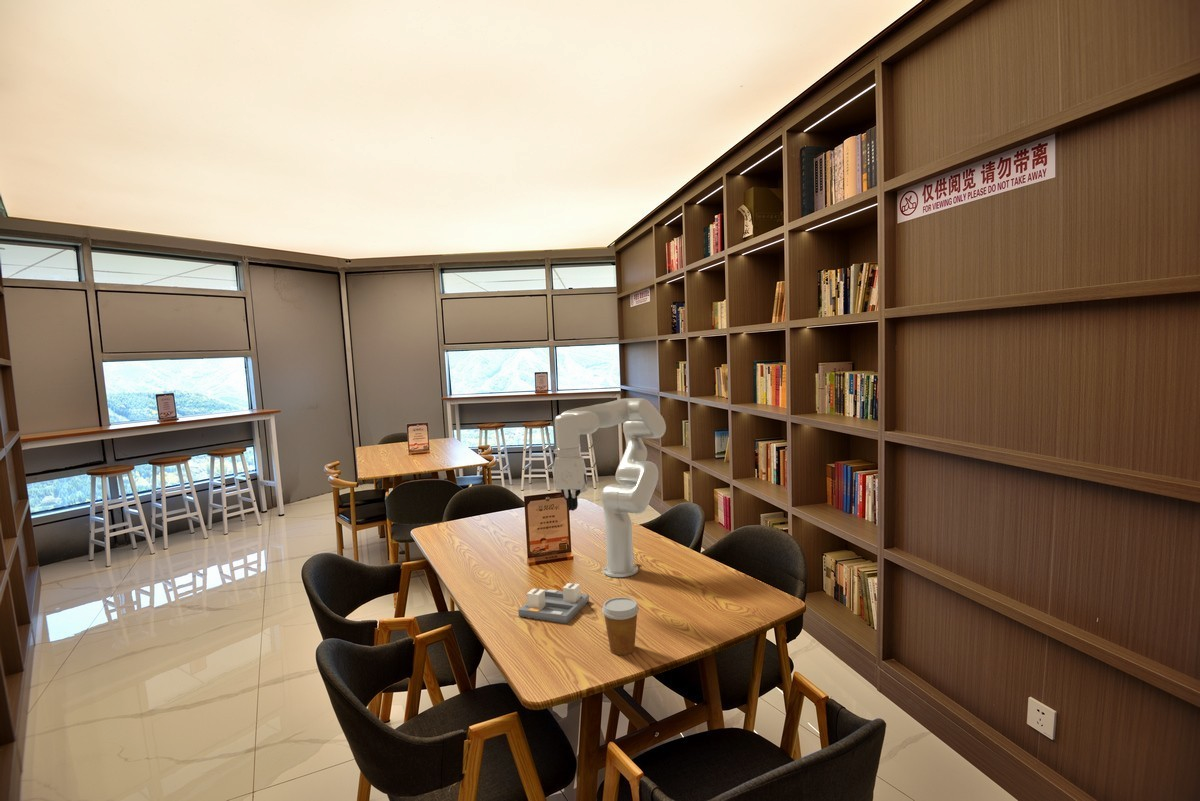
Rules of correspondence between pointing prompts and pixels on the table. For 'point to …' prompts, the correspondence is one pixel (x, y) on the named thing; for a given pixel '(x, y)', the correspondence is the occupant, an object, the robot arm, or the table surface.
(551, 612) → the switch bank
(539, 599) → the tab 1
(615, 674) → the table surface
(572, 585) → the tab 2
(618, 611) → the disposable coffee cup
